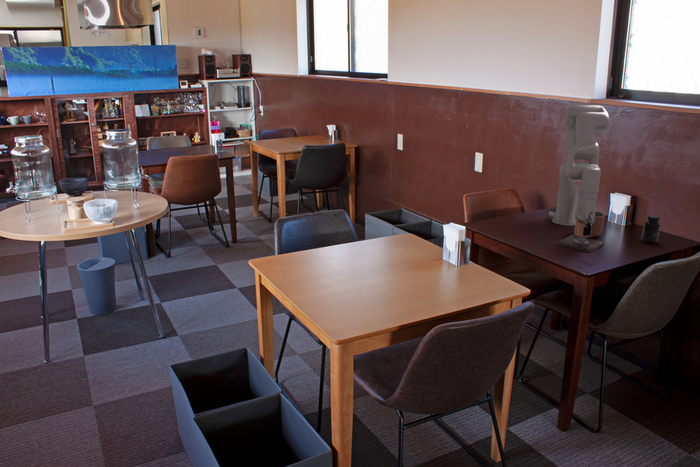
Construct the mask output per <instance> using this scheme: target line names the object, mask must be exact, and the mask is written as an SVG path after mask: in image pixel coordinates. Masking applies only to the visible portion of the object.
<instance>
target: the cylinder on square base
mask: <svg viewBox="0 0 700 467" xmlns="http://www.w3.org/2000/svg"><path fill="white" fill-rule="evenodd" d="M604 245H605V241H602V240H597V239H593V238H590V237H580V236H576V235H574V234H570V235H568V236H567V237H565V238H562V239H560V240H558V241H557V246H562V247H565V248H570V249H575V250H578V251H582V252H586V253H592V252H594V251H596V250H598V249H599V248H601V247H603V246H604Z"/></svg>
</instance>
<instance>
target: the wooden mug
mask: <svg viewBox="0 0 700 467" xmlns="http://www.w3.org/2000/svg"><path fill="white" fill-rule="evenodd" d="M588 223H590V222H587V224H588ZM594 224H595V223H594ZM594 224H593V225H594ZM584 227H585V221H582V220H577V221H576V224H575V225H574V231H573V235H576V236H580V237H587V238H591V237H590V236H591V234H590V236H583V231H584ZM591 231H592V228H591Z"/></svg>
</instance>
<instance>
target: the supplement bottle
mask: <svg viewBox="0 0 700 467" xmlns="http://www.w3.org/2000/svg"><path fill="white" fill-rule="evenodd" d="M660 229H661V223H660V216H658V215H652V214H651V215H650V214H649V215H648V216H647V220H646V221H644V223H643V228H642V233H641V237H640V238H641V239H640V240H641V241H642V242H644V243H650V244H656V243H657V242H658V240H659V235H660Z"/></svg>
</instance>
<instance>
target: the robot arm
mask: <svg viewBox="0 0 700 467" xmlns="http://www.w3.org/2000/svg"><path fill="white" fill-rule="evenodd" d="M610 120H611V119H610V115H609V113H608V111H607V110H606V108H605V107H604V106H602V105H592V104H589V105H588V104H587V105H586V104H573V105H569V106H567V107H566V108H565V110H564V124H565V127H566V138H565V147H564V157H565V158H566V162H564V163H562V164H560V167H559V187H558V193H557V194H558V195H557V202H556V203H557V204H556V211H555V212H553V211H549V212H548V216H549V217H552V219H551V222H552V223H554V224H556V225H560V226H566V227H567V226H569V227H570V226H575V224H576V221H577V220H582V221H585V227H584V231H583V236H590V234H591V228H592V225H593V224H594V222H595V220H594V217H595V211H597V210H596V208H597V200H598V194H599V187H600V183H601V182H600V181H601V174H602V171H601V167H600V166H599V158H600V145H599V143H598V142H597V132H605V131H607V130H608V129H609V127H610V123H611V122H610ZM575 160H577V161H578V160H580V161H584V160H585V161H587V162H576V161H575ZM576 182H580V185H579V186H580V187H578V185H577V183H576ZM576 217H577V219H576ZM587 219H588V220H587ZM587 222H590V223H588V224H587Z"/></svg>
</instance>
